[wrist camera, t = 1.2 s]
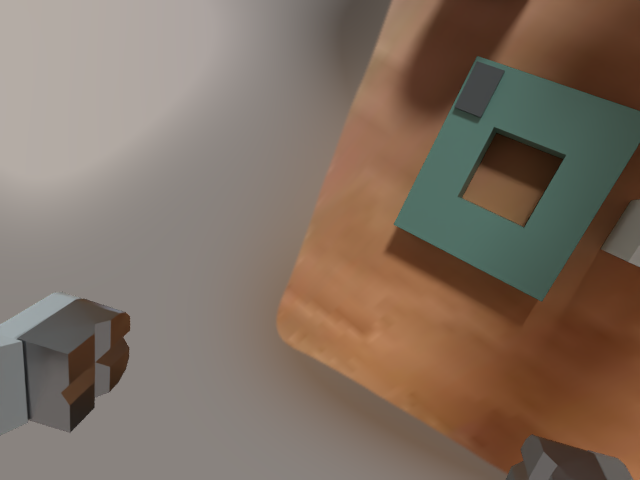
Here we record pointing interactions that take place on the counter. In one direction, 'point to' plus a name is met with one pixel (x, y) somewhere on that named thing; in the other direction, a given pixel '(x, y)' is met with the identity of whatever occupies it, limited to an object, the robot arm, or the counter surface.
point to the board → (538, 132)
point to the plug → (626, 235)
